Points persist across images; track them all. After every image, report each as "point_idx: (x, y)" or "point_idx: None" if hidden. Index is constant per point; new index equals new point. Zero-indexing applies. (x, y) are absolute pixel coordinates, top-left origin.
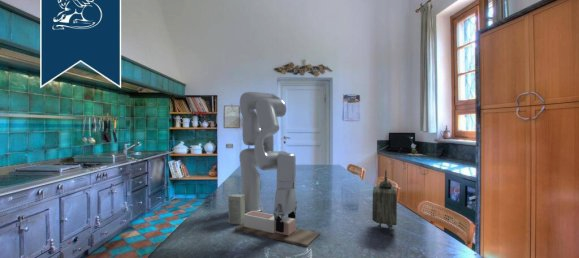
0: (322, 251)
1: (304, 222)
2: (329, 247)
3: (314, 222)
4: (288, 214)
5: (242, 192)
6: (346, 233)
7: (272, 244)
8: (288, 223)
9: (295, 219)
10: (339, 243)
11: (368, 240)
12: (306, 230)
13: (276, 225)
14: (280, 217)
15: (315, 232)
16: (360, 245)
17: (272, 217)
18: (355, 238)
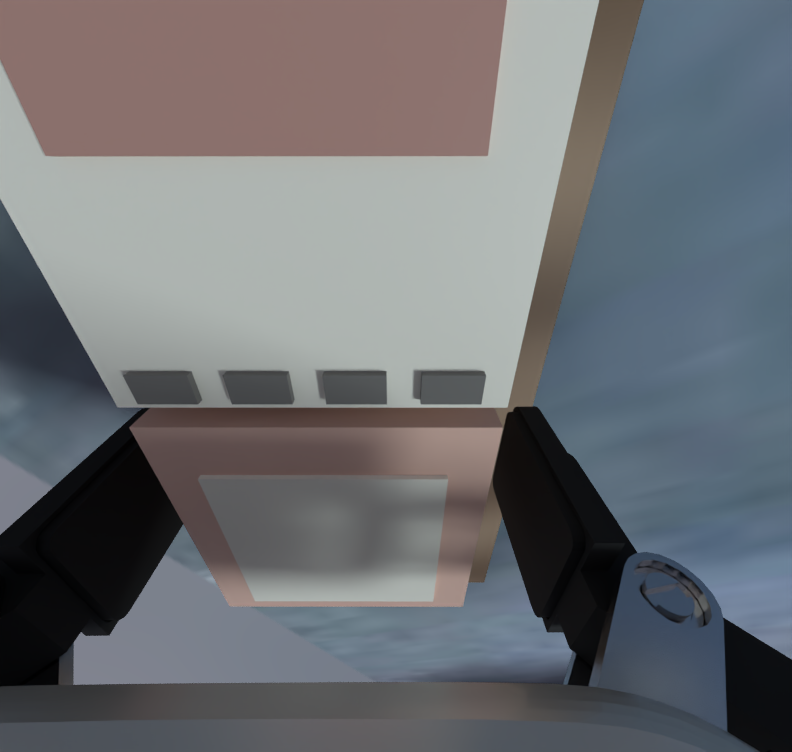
0: (278, 615)
1: (785, 404)
2: (342, 622)
3: (779, 476)
4: (573, 541)
5: None
6: (562, 634)
7: (84, 390)
8: (230, 604)
9: (452, 598)
10: (414, 636)
11: (504, 681)
12: (500, 516)
13: (84, 475)
14: (430, 400)
15: (484, 565)
16: (437, 673)
17: (260, 222)
18: (507, 659)
